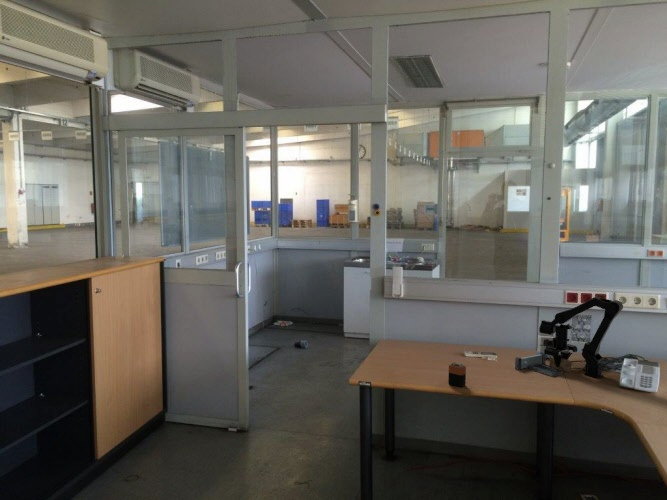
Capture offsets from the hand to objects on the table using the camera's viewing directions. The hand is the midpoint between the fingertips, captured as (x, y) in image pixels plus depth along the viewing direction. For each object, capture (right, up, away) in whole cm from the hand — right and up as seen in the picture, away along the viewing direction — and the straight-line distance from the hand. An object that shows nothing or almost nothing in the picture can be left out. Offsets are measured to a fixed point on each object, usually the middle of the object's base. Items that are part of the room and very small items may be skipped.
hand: (560, 366), depth 258 cm
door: (-14, -1, +2) cm, 14 cm away
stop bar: (0, -1, 0) cm, 1 cm away
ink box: (+2, 0, +20) cm, 20 cm away
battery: (-59, -3, -25) cm, 64 cm away
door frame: (-14, -1, +3) cm, 14 cm away
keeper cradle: (-10, -1, -5) cm, 11 cm away
